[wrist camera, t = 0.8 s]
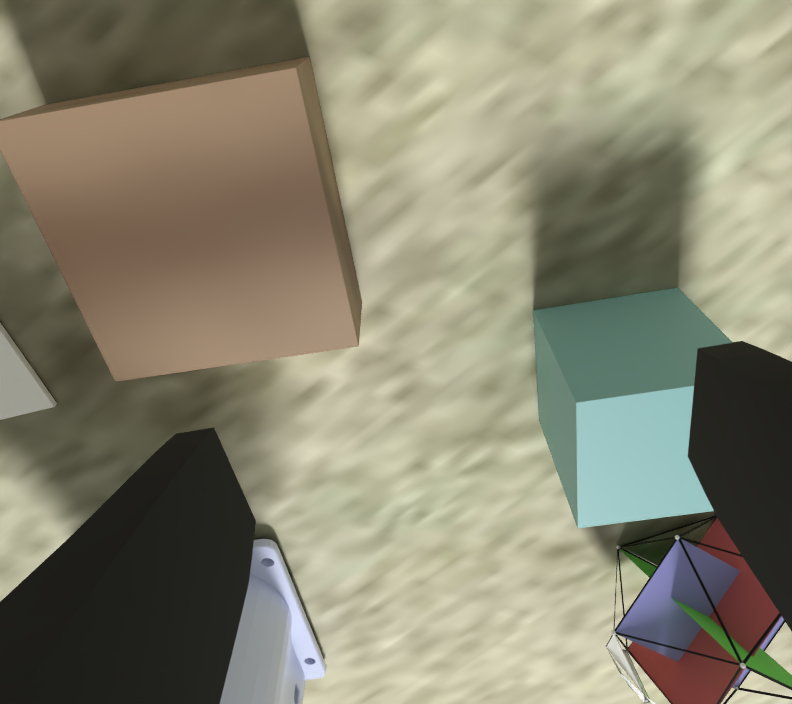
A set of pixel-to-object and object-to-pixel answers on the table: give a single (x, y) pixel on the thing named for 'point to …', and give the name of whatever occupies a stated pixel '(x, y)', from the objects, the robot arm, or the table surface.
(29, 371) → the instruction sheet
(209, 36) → the table surface
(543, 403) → the teal brick
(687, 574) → the geometric puzzle
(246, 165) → the brown block
